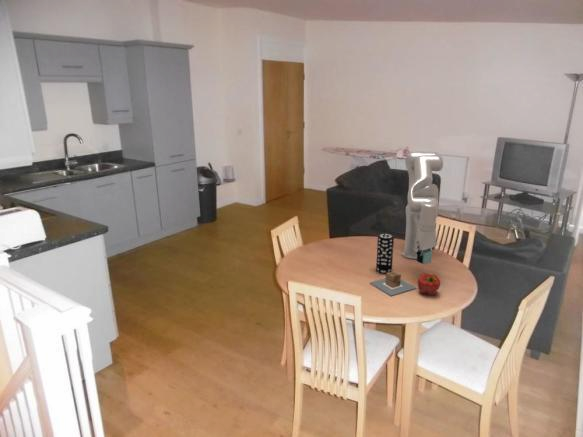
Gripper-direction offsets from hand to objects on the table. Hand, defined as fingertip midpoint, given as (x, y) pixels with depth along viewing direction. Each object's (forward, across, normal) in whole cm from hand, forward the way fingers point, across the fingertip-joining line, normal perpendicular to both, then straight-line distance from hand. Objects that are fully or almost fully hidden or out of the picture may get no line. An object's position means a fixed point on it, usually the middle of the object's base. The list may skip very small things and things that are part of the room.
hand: (423, 260), depth 213 cm
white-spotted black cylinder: (+11, +10, -18) cm, 23 cm away
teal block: (+1, 0, 0) cm, 1 cm away
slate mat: (+10, +18, -2) cm, 21 cm away
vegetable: (+10, +8, +12) cm, 18 cm away
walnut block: (+10, +18, -2) cm, 20 cm away
